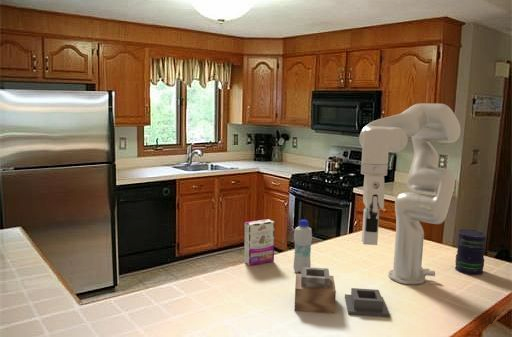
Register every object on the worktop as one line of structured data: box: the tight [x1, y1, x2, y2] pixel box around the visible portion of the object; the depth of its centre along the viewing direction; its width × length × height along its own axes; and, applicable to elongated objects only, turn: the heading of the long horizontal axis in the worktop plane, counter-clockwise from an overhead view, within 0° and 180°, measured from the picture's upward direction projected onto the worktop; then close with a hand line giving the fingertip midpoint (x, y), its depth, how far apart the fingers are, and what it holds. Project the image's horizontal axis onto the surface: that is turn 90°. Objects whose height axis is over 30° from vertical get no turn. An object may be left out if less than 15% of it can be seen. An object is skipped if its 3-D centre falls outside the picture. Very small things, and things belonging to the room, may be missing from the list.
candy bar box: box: [243, 218, 275, 266], centre depth 170 cm, size 11×5×16 cm, turn 117°
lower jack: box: [344, 287, 391, 318], centre depth 134 cm, size 12×12×4 cm
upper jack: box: [293, 267, 337, 314], centre depth 135 cm, size 12×12×10 cm
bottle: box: [293, 219, 313, 274], centre depth 161 cm, size 7×7×20 cm
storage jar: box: [454, 229, 487, 276], centre depth 166 cm, size 10×10×15 cm
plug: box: [361, 205, 380, 246], centre depth 130 cm, size 4×4×12 cm
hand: (370, 229), depth 131 cm, fingers closed on plug, 4 cm apart
